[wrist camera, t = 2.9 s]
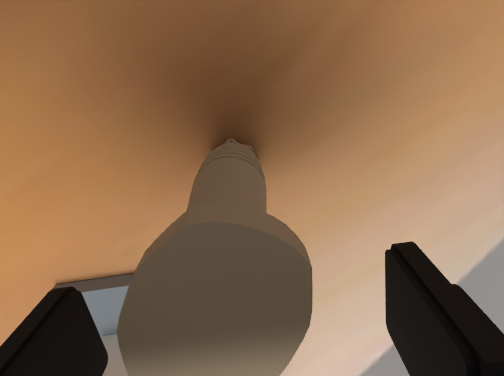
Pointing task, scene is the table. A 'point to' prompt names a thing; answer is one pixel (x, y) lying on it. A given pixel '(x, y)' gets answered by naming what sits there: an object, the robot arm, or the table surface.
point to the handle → (219, 282)
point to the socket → (106, 313)
